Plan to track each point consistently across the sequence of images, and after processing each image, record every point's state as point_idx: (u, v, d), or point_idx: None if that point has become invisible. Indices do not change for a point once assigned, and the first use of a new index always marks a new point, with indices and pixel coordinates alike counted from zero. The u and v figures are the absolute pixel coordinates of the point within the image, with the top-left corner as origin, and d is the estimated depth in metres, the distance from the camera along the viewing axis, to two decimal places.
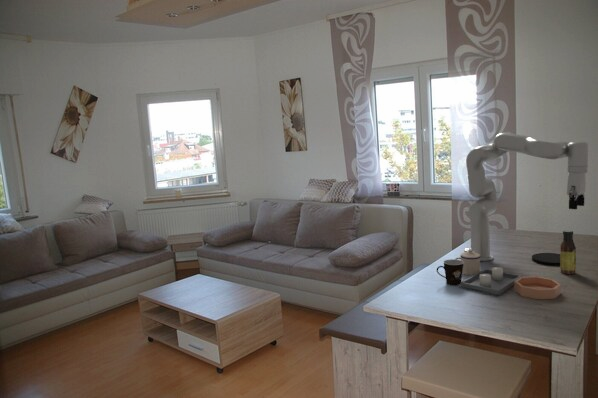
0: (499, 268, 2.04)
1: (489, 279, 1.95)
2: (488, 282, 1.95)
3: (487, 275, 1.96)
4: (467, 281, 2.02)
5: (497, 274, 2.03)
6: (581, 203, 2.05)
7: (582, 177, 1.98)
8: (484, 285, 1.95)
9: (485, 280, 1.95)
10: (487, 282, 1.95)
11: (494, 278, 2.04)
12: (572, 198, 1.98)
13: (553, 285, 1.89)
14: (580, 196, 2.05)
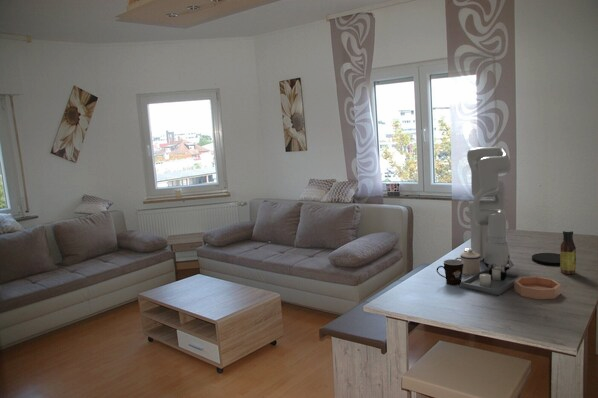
0: (499, 268, 2.04)
1: (489, 279, 1.95)
2: (488, 282, 1.95)
3: (487, 275, 1.96)
4: (467, 281, 2.02)
5: (497, 274, 2.03)
6: None
7: None
8: (484, 285, 1.95)
9: (485, 280, 1.95)
10: (487, 282, 1.95)
11: (494, 278, 2.04)
12: None
13: (553, 285, 1.89)
14: (492, 267, 2.06)
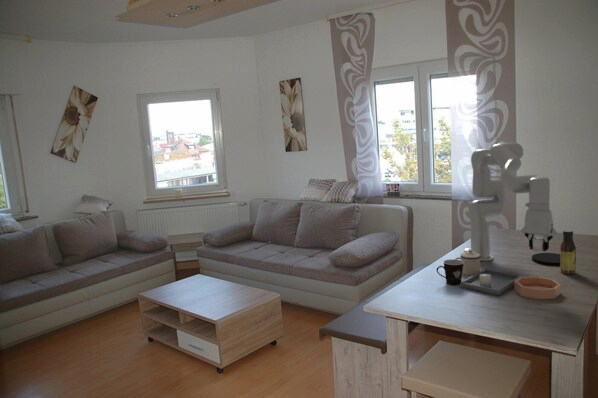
0: (541, 238, 1.88)
1: (489, 279, 1.95)
2: (488, 282, 1.95)
3: (487, 275, 1.96)
4: (467, 281, 2.02)
5: (539, 245, 1.86)
6: None
7: None
8: (484, 285, 1.95)
9: (485, 280, 1.95)
10: (487, 282, 1.95)
11: (535, 249, 1.88)
12: None
13: (553, 285, 1.89)
14: None
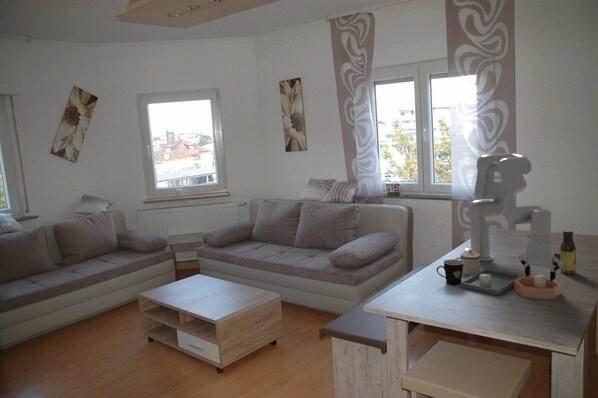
0: (542, 276, 1.90)
1: (489, 279, 1.95)
2: (488, 282, 1.95)
3: (487, 275, 1.96)
4: (467, 281, 2.02)
5: (540, 283, 1.89)
6: (529, 273, 1.94)
7: None
8: (484, 285, 1.95)
9: (485, 280, 1.95)
10: (487, 282, 1.95)
11: (536, 287, 1.90)
12: None
13: (553, 285, 1.89)
14: (528, 266, 1.93)
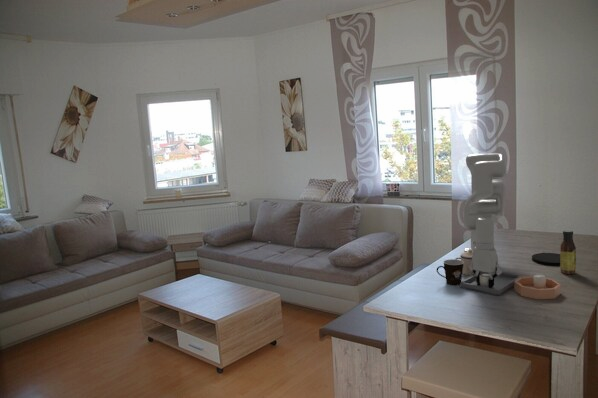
0: (542, 276, 1.90)
1: None
2: (488, 282, 1.95)
3: (487, 275, 1.96)
4: (467, 281, 2.02)
5: (540, 283, 1.89)
6: None
7: None
8: (484, 285, 1.95)
9: (484, 280, 1.95)
10: (487, 282, 1.95)
11: (536, 287, 1.90)
12: None
13: (553, 285, 1.89)
14: None
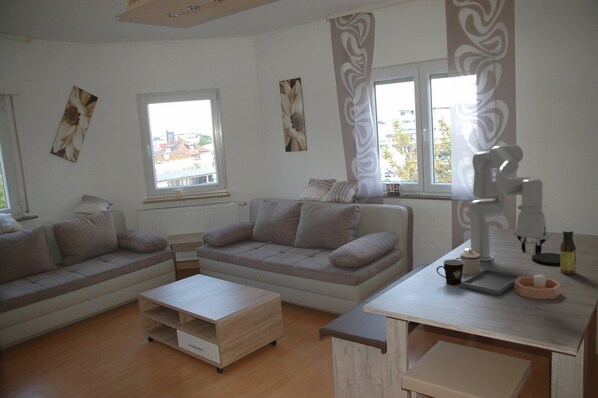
0: (542, 276, 1.90)
1: None
2: (535, 248, 1.83)
3: (533, 241, 1.84)
4: (467, 281, 2.02)
5: (540, 283, 1.89)
6: None
7: None
8: (530, 252, 1.83)
9: (531, 246, 1.83)
10: (534, 249, 1.83)
11: (536, 287, 1.90)
12: (543, 242, 1.81)
13: (553, 285, 1.89)
14: None
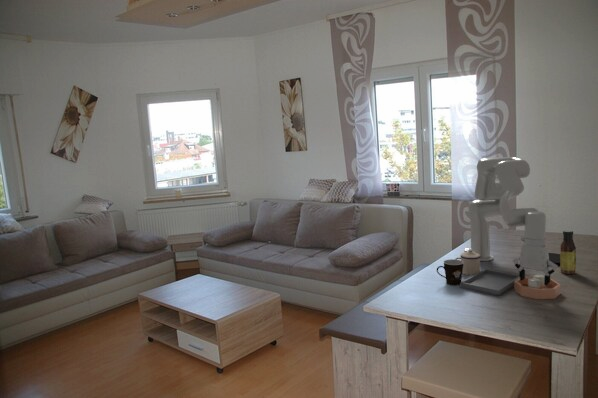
0: (542, 276, 1.90)
1: (539, 284, 1.85)
2: (538, 287, 1.85)
3: (536, 280, 1.86)
4: (467, 281, 2.02)
5: None
6: (524, 276, 1.90)
7: None
8: None
9: (534, 285, 1.84)
10: (537, 288, 1.84)
11: None
12: (552, 272, 1.81)
13: (553, 285, 1.89)
14: (523, 269, 1.89)
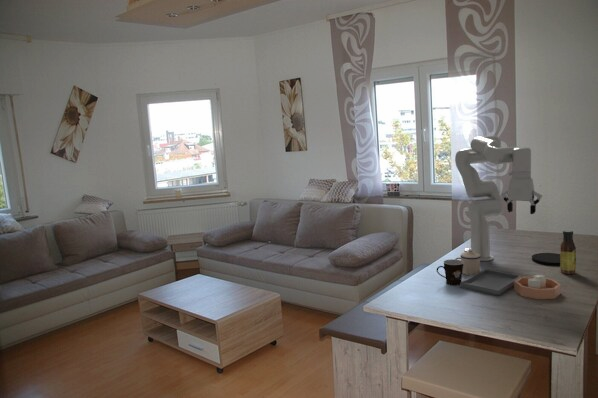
0: (542, 276, 1.90)
1: (539, 284, 1.85)
2: (538, 287, 1.85)
3: (536, 280, 1.86)
4: (467, 281, 2.02)
5: (540, 283, 1.89)
6: (511, 209, 2.07)
7: None
8: None
9: (534, 285, 1.84)
10: (537, 288, 1.84)
11: None
12: (537, 202, 1.98)
13: (553, 285, 1.89)
14: (511, 202, 2.07)
